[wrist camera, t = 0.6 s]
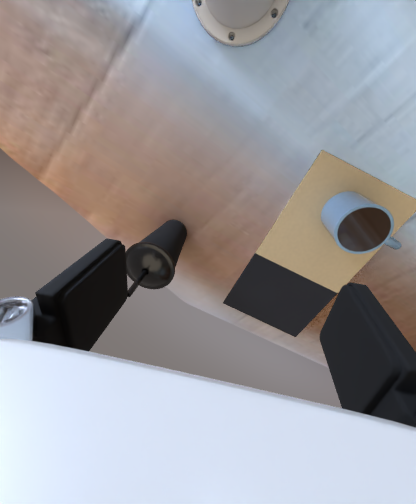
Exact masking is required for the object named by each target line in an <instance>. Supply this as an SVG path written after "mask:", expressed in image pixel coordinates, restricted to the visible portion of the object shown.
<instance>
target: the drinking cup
mask: <svg viewBox="0 0 416 504" xmlns="http://www.w3.org/2000/svg"><path fill="white" fill-rule="evenodd" d="M186 236H187V230H186V228H185V226H184V225H183V224H182V223H181V222H179V221H177V220H170V221H167V222H166V223H165V224H163V225H162V226H161V227H159V228H158V229H157V230H155V231H154V232H153V233H151V234H150V235H149V236H147V237H146V238H145V239H143V240H142V241H141V242H139V243H136V244H134V245H132V246H131V247H130V248H129V249H128V250H127V251H126V271H127V275H128V276H129V277H130V278H131V279H132V280H133V281H134V283H133V284H132V286H131V287H130V288H129V290H128V295H127V296H128V297H130V296H131V295H132V294H133V292H134V291H135V289H136V288H137V287H138V285H140V286H142V287H144V288H148V289H160V288H163V287H165V286H167V285H168V284H169V283H170V282H171V281H172V279H173V277H174V274H175V266H176V264H177V261H178V258H179V255H180V252H181V250H182V247H183V244H184V241H185V239H186Z"/></svg>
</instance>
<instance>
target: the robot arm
mask: <svg viewBox="0 0 416 504" xmlns="http://www.w3.org/2000/svg"><path fill="white" fill-rule="evenodd" d="M192 2H193V6H194V9H195V12H196V14H197V17H198V19H199V21H200V22H201V24H202V26H203V27H204V29H205V30H206V31H207V32H208V34H209V35H210V36H212V37H213V38H214V39H215V40H216V41H218V42H220V43H222V44H224V45H229V46H245V45H249V44H252V43H254V42H256V41H258V40H260V39H261V38H262V37H264V36H265V35H266V34H268V33H269V32H270V31H271V29H272V28H273V27H274V26H275V25H276V24H277V22H278V21H279V19H280V18H281V16H282V15H283V13H284V11H285V9H286V7H287V5H288V2H289V0H192ZM200 2H201V3H202V5H201V6H198V4H199V3H200ZM273 14H276V17H275V18H272V15H273ZM231 36H233V37H234V39H233V40H230V37H231ZM127 295H128V290H127V271H126V253H125V246H124V245H122V243H121V241H118V240H112V239H105V240H104V241H103V242H101V243H100V244H99V245H97V246H96V247H95V248H93V249H92V250H91V251H89V252H88V253H87V254H86V255H84V256H83V257H82V258H80V259H79V260H78V261H76V262H75V263H74V264H72V265H71V266H70V267H69V268H67V269H66V270H64V271H63V272H62V273H61V274H59V275H58V276H57V277H55V278H54V279H53V280H51V281H50V282H49V283H47V284H46V285H45V286H43V287H42V288H41V289H40V290H38V291H37V292H36V297H35V298H34V299H33V300H30V299H29V298H25V297H16V296H15V297H8V298H4V299H0V504H416V352H415V351H414V349H413V348H412V347H411V345H410V344H409V343H408V341H407V340H406V339H405V337H404V336H403V335H402V333H401V332H400V330H399V329H398V328H397V326H396V325H395V324H394V322H393V321H392V320H391V318H390V317H389V315H388V314H387V313H386V311H385V310H384V309H383V307H382V306H381V305H380V303H379V302H378V301H377V299H376V298H375V296H374V295H373V294H372V292H371V291H370V290H369V288H368V287H367V286H366V285H362V284H356V283H351V282H350V283H348V284H347V285H343V286H342V288H341V290H340V292H339V294H338V296H337V298H336V300H335V303H334V305H333V307H332V309H331V311H330V313H329V315H328V317H327V319H326V322H325V324H324V326H323V328H322V330H321V333H320V342H321V345H322V348H323V351H324V354H325V357H326V360H327V363H328V366H329V369H330V372H331V375H332V379H333V382H334V385H335V388H336V391H337V393H338V397H339V400H340V403H341V406H342V408H338V407H334V406H329V405H325V404H321V403H316V402H312V401H307V400H303V399H299V398H295V397H290V396H286V395H281V394H277V393H273V392H269V391H264V390H260V389H256V388H251V387H247V386H242V385H237V384H233V383H229V382H225V381H220V380H216V379H211V378H207V377H202V376H198V375H194V374H189V373H185V372H180V371H176V370H171V369H167V368H162V367H157V366H152V365H148V364H144V363H139V362H135V361H130V360H126V359H121V358H116V357H112V356H107V355H102V354H98V353H93V352H89V350H90V349H91V348H92V346H93V345H94V344H95V342H96V341H97V340H98V338H99V337H100V335H101V334H102V333H103V331H104V330H105V328H106V327H107V326H108V324H109V323H110V322H111V320H112V319H113V318H114V316H115V315H116V313H117V312H118V311H119V309H120V308H121V307H122V305H123V304H124V302H125V301H126V299H127Z"/></svg>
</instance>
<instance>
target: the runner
mask: <svg viewBox="0 0 416 504" xmlns="http://www.w3.org/2000/svg"><path fill="white" fill-rule="evenodd" d="M346 191H354V192H358V193H361V194H362V195H364V196H366V197H367V198H369V199H371V200H373V201H374V202H376V203H378V204H379V205H381V206H383V207H384V208H386V209H387V210H388V211H389V212H390V213H391V215H392V216H393V219H394V228H393V232H392V234H391V236H393V235H394V234H395V232H396V231H397V230H398V229H399V228H400V227H401V226H402V225H403V224H404V223H405V222H406V221H407V220H408V219H409V218H410V217H411V216H412V215H413V214H414V213H415V212H416V199H414V198H413V197H411V196H409V195H407V194H405V193H403V192H401V191H399V190H397V189H396V188H394V187H392V186H390V185H388V184H386V183H384V182H382V181H380V180H378V179H377V178H375V177H373V176H371V175H369V174H367V173H365V172H363V171H361V170H360V169H358V168H356V167H354V166H352V165H350V164H348V163H346V162H344V161H342V160H341V159H339V158H337V157H335V156H333V155H331V154H329V153H327V152H325V151H324V150H322V151H321V152H320V154H319V155H318V157H317V158H316V160H315V162H314V163H313V165H312V166H311V168H310V169H309V171H308V172H307V174H306V175H305V177H304V179H303V180H302V182H301V183H300V185H299V186H298V188H297V189H296V191H295V193H294V194H293V196H292V197H291V199H290V200H289V202H288V203H287V205H286V206H285V208H284V210H283V211H282V213H281V214H280V216H279V217H278V219H277V220H276V222H275V223H274V225H273V227H272V228H271V230H270V231H269V233H268V234H267V236H266V237H265V239H264V240H263V242H262V244H261V245H260V247H259V248H258V250H257V251H256V253H255V254H254V256H253V258H252V259H251V261H250V262H249V264H248V265H247V267H246V268H245V270H244V271H243V273H242V275H241V276H240V278H239V279H238V281H237V282H236V284H235V285H234V287H233V288H232V290H231V292H230V293H229V295H228V296H227V298H226V299H225V301H224V302H223V303H224V304H226V305H228V306H230V307H233V308H235V309H237V310H239V311H241V312H243V313H245V314H248V315H250V316H252V317H254V318H256V319H258V320H260V321H262V322H265V323H267V324H269V325H271V326H273V327H275V328H277V329H280V330H282V331H284V332H286V333H288V334H290V335H292V336H294V337H296V336H297V335H298V334H299V333H300V332H301V331H302V330H303V329H304V328H305V327H306V326H307V325H308V324H309V323H310V321H311V320H312V319H313V318H314V317H315V316H316V315H317V314H318V313H319V312H320V311H321V310H322V309H323V308H324V307H325V306H326V305H327V304H328V303H329V302H330V301H331V299H332V298H333V297H334V296H335V295H336V294H337V293H338V292H339V291H340V290H341V288H342V286H343V285H346V284H347V283H348V282H349V281H350V280H351V279H352V278H353V276H354V275H355V274H356V273H357V272H358V271H359V270H360V269H361V268H362V267H363V266H364V265H365V264H366V263H367V262H368V261H369V260H370V259H371V258H372V257H373V256H374V254H375V253H376V252H377V251H378V250H379V249H380V248H381V247H382V246H383V245H384V244H383V245H382V246H381V247H379V248H378V249H376V250H374V251H371V252H368V253H364V254H353V253H349V252H346V251H344V250H342V249H341V248H340V247H339V246H338V245H337V244H336V242H335V241H334V240H333V238H332V237H331V235H330V234H329V233H328V231H327V230H326V229H325V227H324V226H323V224H322V221H321V212H322V209H323V207H324V205H325V204H326V202H327V201H328V200H329V199H330V198H332V197H333V196H335V195H337V194H339V193H341V192H346Z"/></svg>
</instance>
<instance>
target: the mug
mask: <svg viewBox="0 0 416 504" xmlns="http://www.w3.org/2000/svg"><path fill="white" fill-rule="evenodd" d="M321 221H322V224H323V226H324V227H325V229H326V230H327V231H328V233H329V234H330V235H331V237H332V238H333V240H334V241H335V242H336V244H337V245H338V246H339V247H340V248H341V249H342V250H344V251H346V252H349V253H353V254H364V253H368V252H371V251H374V250H376V249H378V248H379V247H381V246H382V245H383V244H385V245H387V246H389V247H391V248H393V249H400V248H401V243H399V242H398V241H397V240H396V239H394V238H393V237H392V236H391V234H392V232H393V228H394V219H393V216H392V215H391V213H390V212H389V211H388V210H387V209H386V208H384V207H383V206H381V205H379V204H378V203H376V202H374V201H373V200H371V199H369V198H367V197H366V196H364V195H362V194H361V193H358V192H354V191H346V192H341V193H339V194H337V195H335V196H333V197H332V198H330V199H329V200H328V201H327V202H326V204H325V205H324V207H323V209H322V212H321Z"/></svg>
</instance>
